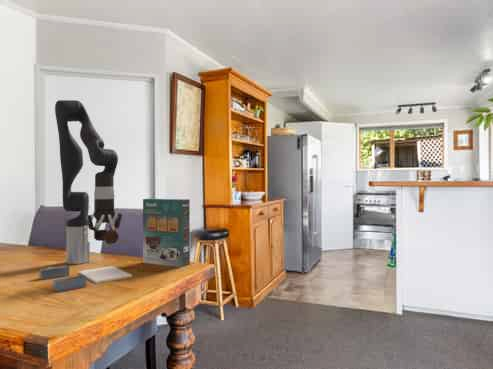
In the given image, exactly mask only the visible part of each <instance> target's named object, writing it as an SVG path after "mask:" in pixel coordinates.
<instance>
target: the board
mask: <svg viewBox="0 0 493 369" xmlns="http://www.w3.org/2000/svg"><path fill="white" fill-rule="evenodd" d="M78 274H79V275H80V276H83V275H84V276H86V279H88V280H89V281H91V282H92V283H94V284H100V283H104V282H111V281H116V280H122V279H127V278H128V279H129V278H132V277H133V276H132V274H131V273H129V272H126V271H125V270H122V269H119V267H118V268H117V267H115V266H112V265H110V266H105V267H97V268H91V269H85V270H79V271H78Z"/></svg>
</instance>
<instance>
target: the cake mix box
mask: <svg viewBox="0 0 493 369" xmlns="http://www.w3.org/2000/svg"><path fill="white" fill-rule="evenodd" d="M190 202H191V201H190V198H189V199H188V198H143V199H142V255H143V256H142V261H143V262H142V263H143V264H151V265H158V266H160V265H161V266H169V267H177V268H183V267H186V266H188V265H190V264H191V262H190V260H191V259H190V257H191V256H190V250H191V249H190V243H191V242H190V238H191V237H190V236H191V235H190V234H191V233H190V227H191V226H190V220H191V219H190V216H191V215H190V210H191V208H190V204H191V203H190Z"/></svg>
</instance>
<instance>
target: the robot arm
mask: <svg viewBox="0 0 493 369" xmlns="http://www.w3.org/2000/svg"><path fill="white" fill-rule="evenodd" d="M54 105H55V106H54V114H55V119H56V120H55V121H56V126H57V132H58V140H59V142H58V143H59V157H60V158H59V159H60V161H59V162H60V167H61V169H60V170H61V179H62V206H63V210H64V211H65V212H79V214H78V215H77V216H75V217H73V218H70V219H67V220H66V264H67V265H80V264H86V263H89V262H90V261H91V260H90V259H91V257H90V255H91V254H90V247H91V246H90V245H91V244H90V243H91V242H90V241H89V230H90V231H91V230H92V231H93V239H94V240H95V241H99V231H98V230H100V227H101V226H102V224H105V223H107V225H108V227H109V230H115V231H116V229H119V228H120V224H121V220H122V213H119V212H118V213H117V212H115V188H114V186H115V185H114V179H115V178H114V176H115V175H116V174H115V172H116V169H117V166H118V162H119V156H118V153H117V152H116V151H115V150H114V149H110V148H105V141H104V140H103V139H102V137H101V136H100V134H99V133H98V132H97V131H96V128H95V127H94V125H93V122H92V121H91V118H90V115H89V114H88V111H87V109H86V107H85V106H84V104H83V103H82V102H81V101H79V100H70V99H69V100H68V99H67V100H65V99H60V100H57V101H56V102H55V104H54ZM69 122H79V123H80V124H81V127H80V131H79V137H80V139H81V141H82V143H83V145H84V146H85V148H86V150H87V152H88V157H89V161H90V162H91V163H92V164H93V165H95V166H96V167H104V169H103V170H102V171H99V172H96V173H95V175H94V194H93V196H94V200H93V201H94V204H93V205H94V206H93V207H94V208H93V211H94V212H93V213H92V214H89V206H90V205H89V204H90V199H89V198H90V196H89V194H88V192H86V191H72V185H73V182H74V181H75V179H76V178H77V176H78V175H79V173H80V172H81V171H82V169H83V166H84V155H83V150H82V148H81V146H80V144H79V143H78V141H76V140H75V138H74V137H73V135H72V134H71V131H70V129H69V125H68V123H69ZM113 218H115V221H114V220H113ZM94 219H95V222H94V223H93V221H94Z"/></svg>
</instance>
